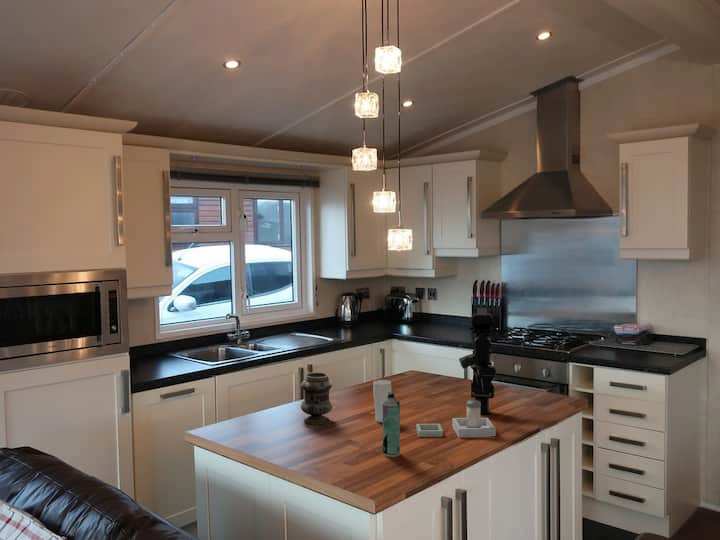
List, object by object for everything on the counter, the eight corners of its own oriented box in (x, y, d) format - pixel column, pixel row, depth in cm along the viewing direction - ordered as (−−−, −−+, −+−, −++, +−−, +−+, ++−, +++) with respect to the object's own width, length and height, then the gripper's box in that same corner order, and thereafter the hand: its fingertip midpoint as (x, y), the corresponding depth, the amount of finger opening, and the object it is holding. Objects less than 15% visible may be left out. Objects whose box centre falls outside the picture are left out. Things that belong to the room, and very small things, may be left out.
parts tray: (452, 426, 230) (452, 418, 230) (487, 425, 231) (487, 417, 230) (458, 437, 217) (458, 429, 217) (495, 437, 218) (495, 428, 217)
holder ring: (416, 429, 227) (416, 423, 227) (439, 429, 227) (439, 423, 227) (418, 436, 218) (418, 431, 218) (443, 436, 218) (443, 431, 218)
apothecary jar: (328, 426, 231) (327, 378, 230) (296, 424, 233) (296, 377, 232) (335, 417, 243) (335, 371, 242) (306, 415, 245) (305, 370, 244)
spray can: (398, 451, 204) (398, 390, 203) (400, 457, 199) (400, 395, 198) (382, 451, 204) (382, 391, 203) (383, 457, 199) (383, 395, 197)
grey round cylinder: (463, 428, 225) (463, 401, 224) (474, 426, 227) (474, 399, 227) (472, 432, 221) (472, 404, 220) (483, 430, 223) (483, 402, 222)
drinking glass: (370, 419, 239) (370, 380, 238) (387, 417, 242) (386, 379, 241) (377, 424, 233) (377, 384, 232) (394, 422, 235) (394, 383, 235)
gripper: (456, 343, 241) (456, 383, 241) (465, 352, 222) (465, 396, 223) (485, 343, 241) (485, 383, 242) (496, 352, 222) (496, 395, 223)
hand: (482, 389), depth 232 cm, fingers open, 9 cm apart
